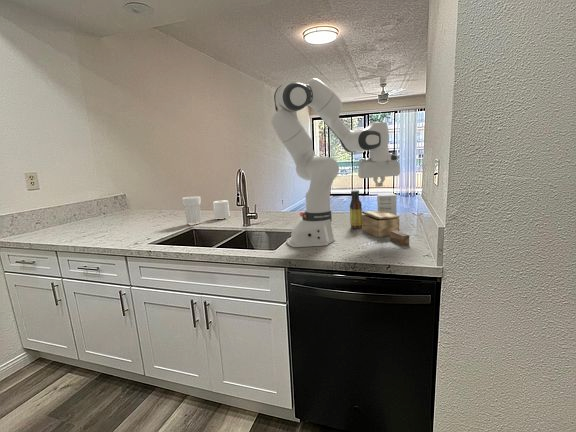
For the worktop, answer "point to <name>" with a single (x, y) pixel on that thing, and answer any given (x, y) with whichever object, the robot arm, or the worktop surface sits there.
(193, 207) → the cup
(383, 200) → the supplement box
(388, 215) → the lid
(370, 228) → the bread box
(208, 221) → the worktop surface
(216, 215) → the white tapered cylinder
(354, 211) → the sauce bottle
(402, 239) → the walnut batten
